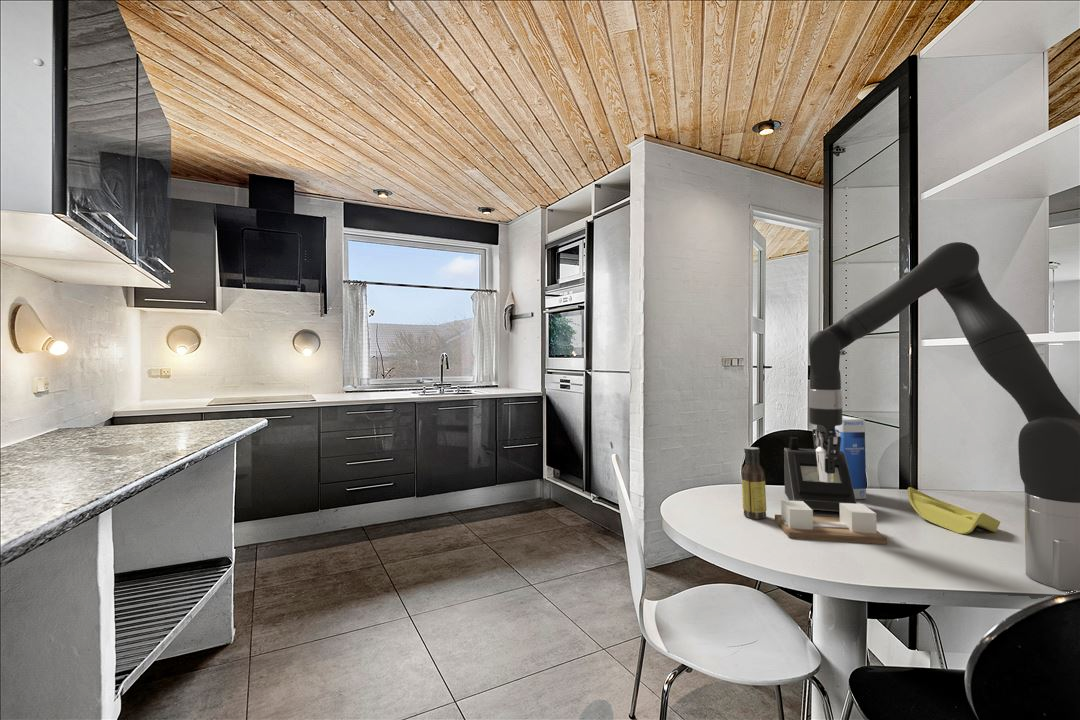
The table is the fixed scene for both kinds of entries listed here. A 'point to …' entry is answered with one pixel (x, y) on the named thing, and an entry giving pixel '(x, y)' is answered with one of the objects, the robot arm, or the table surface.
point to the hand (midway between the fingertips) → (826, 470)
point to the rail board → (830, 531)
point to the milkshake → (822, 466)
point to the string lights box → (854, 452)
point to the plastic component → (949, 514)
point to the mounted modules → (850, 515)
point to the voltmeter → (815, 479)
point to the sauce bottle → (753, 485)
